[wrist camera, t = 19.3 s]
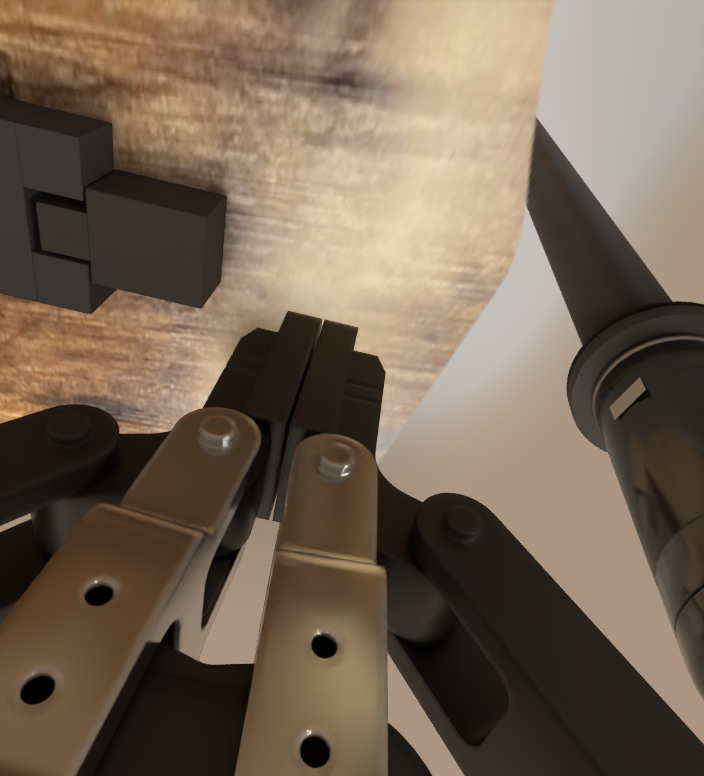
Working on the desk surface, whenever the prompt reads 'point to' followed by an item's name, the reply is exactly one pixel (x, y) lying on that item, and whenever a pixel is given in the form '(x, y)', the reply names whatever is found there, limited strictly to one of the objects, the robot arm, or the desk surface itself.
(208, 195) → the pad
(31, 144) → the notch pad
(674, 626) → the robot arm
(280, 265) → the desk surface
